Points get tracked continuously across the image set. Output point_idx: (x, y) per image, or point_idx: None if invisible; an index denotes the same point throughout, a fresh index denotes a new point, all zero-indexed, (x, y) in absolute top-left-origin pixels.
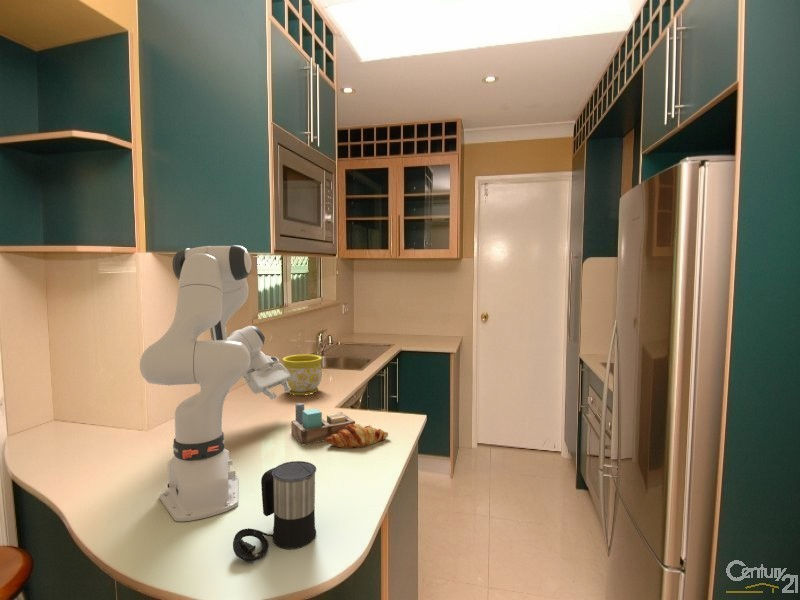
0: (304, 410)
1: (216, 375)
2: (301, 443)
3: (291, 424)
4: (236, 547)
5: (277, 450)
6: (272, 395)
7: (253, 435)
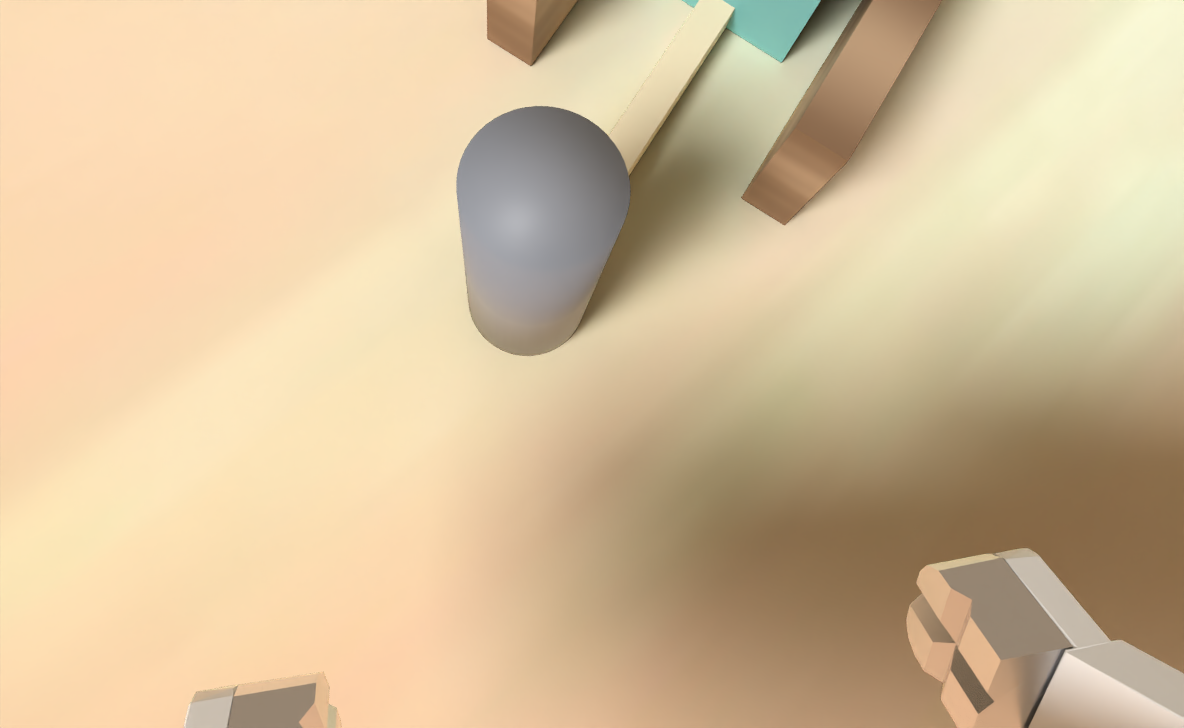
0: None
1: None
2: None
3: (827, 180)
4: None
5: (1177, 64)
6: (1058, 603)
7: None
